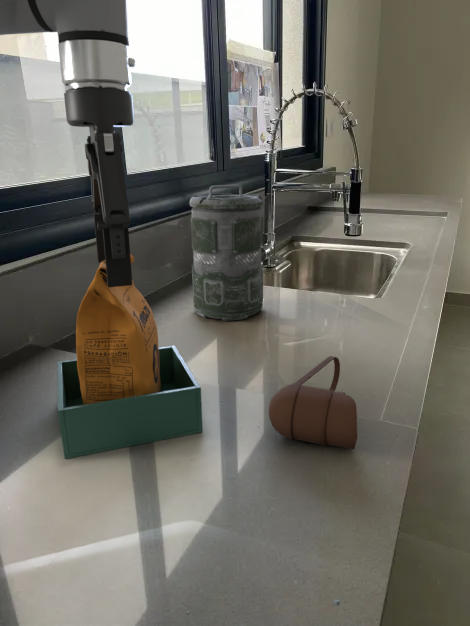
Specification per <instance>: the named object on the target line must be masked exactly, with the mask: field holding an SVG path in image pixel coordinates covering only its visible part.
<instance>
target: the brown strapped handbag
mask: <svg viewBox="0 0 470 626" xmlns="http://www.w3.org/2000/svg"><path fill="white" fill-rule="evenodd" d="M332 361H333V363H334V367H333V368H334V369H333V377H332V381H331V384H330V387H329V389H328V388H322V387H316V386H311V385H310V386H309V385H304V384H305V383H306V382H307V381H309V379H311V378H312V377H313V376H315V375H316V374H317V373H318V372H320V371H321V370H322V369H323V368H325V367H326V366H327V365H328V364H330V362H332ZM340 373H341V363H340V360H339V357H337V356H333V355H330V356H328V357H326V358H325V359H324V360H322V361H321V362H320V363H318V364H317V365H316V366H315V367H313V368H312V369H311V370H310V371H309V372H307V373H305V374H304V375H303V376H302V377H300V378H299V379H298V380H297V381H296V382H292V383H290V384H287V385H284V386H283V387H282V388H280V389H278V390H277V391H276V392H275V394H274V395H273V396H272V397H271V399H270V402H269V405H268V418H269V421H270V423H271V425H272V427H273V429H274V430H275V431H276V432H277V433H278V434H280V436H282V437H285V438H286V439H289V440H293V441H294V440H298V441H303V442H307V443H312V444H316V445H317V444H318V445H322V446H327V445H330V446H334V447H339V448H343V449H344V448H345V449H349V450H355V448H356V446H357V445H356V444H357V441H358V411H357V404H356V401H355V399H354V398H352V397H351V396H350V395H348V394H346V392H342V391H336V389H337V386H338V383H339V379H340Z"/></svg>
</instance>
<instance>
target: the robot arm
mask: <svg viewBox="0 0 470 626" xmlns="http://www.w3.org/2000/svg"><path fill="white" fill-rule="evenodd" d="M127 5H128V4H127V0H0V36H6V35H21V34H22V35H23V34H36V33H37V34H41V33H57V39H58V54H59V55H58V56H59V64H60V74H61V75H60V76H61V83H62V84H63V85H65V86H67V87H68V89H67V90H65V92H64V93H63V97H64V107H65V114H66V115H65V118H66V122H67V124H68V125H69V126H70V127H76V128H77V127H79V128H89V131H90V133H89V135H88V136H87V138H86V143H84V153H85V158H86V160H87V170H88V175H89V176H90V186H91V187H90V190H91V191H90V192H91V201H90V202H91V205H92V211H93V221H94V222H93V223H94V232H95V234H94V235H95V243H96V252H97V253H96V254H97V262H98V264H100V263H101V262H102V261H104V260H105V261H106V273H107V284H108V287H118V286H129V285H132V280H133V274H132V264H131V258H130V254H131V247H130V246H131V245H130V233H129V232H130V230H129V225H131V223H132V217H131V215H130V208H129V202H128V193H127V184H126V177H125V170H124V162H123V152H124V151H123V144H122V143H121V142H122V136H121V134H120V132H116V131H115V128H126V127H127V128H128V127H132V126H134V123H135V115H134V113H135V112H134V100H133V99H134V98H133V97H134V96H133V94H131V91H128V90H127V88H129V87H130V86H131V85H132V74H131V68H135V67H136V59H134V58H132V57H129V54H130V49H129V47H130V41H129V28H128V27H129V26H128V8H127V7H128V6H127Z"/></svg>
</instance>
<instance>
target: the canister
mask: <svg viewBox="0 0 470 626" xmlns="http://www.w3.org/2000/svg"><path fill="white" fill-rule="evenodd" d="M215 189H238V194H233V193H232V192H226V193H225V192H224V193H221V192H220V193H213V190H215ZM263 205H264V199H263V198H262V196H260V195H259V194H256V193H255V194H254V193H247V194H243V186H242V185H241V184H217V185H211V186H210V187H209V189H208V195H200V196H196V197H195V196H192V197H191V198H190V200H189V206H190V208H191V218H190V232H191V234H190V235H191V248H192V254H193V255H192V257H193V264H191V277H192V299H193V301H192V302H193V310H194V312H195V313H196V314H197V315H198V316H200V317H202V318H205V319H207V318H211V319H217V320H222V321H223V322H230V321H231V322H232V321H233V322H234V321H241V320H247V319H248V318H249V317H251V316H253V315H255V314H256V313H259V312H260V311H261V310H262V309H263V306H264V304H263V302H264V269H263V265H262V246H263V244H264V240H263V239H264V216H263V214H262V206H263Z"/></svg>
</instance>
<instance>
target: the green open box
mask: <svg viewBox="0 0 470 626" xmlns="http://www.w3.org/2000/svg"><path fill="white" fill-rule="evenodd" d="M158 349H159V364H160V366H159V369H160V380H161V389H160V392H158V393H152V394H146V395H140V396H134V397H127V398H121V399H115V400H109V401H103V402H97V403H91V404H85V405H83V400H82V394H81V388H80V380H79V375H78V369H77V358H74V359H68V360H59V361H57V362H56V366H57V367H56V368H57V369H56V370H57V374H56V375H57V415H58V422H59V430H60V436H61V442H62V450H63V456H64V457H63V458H64V459H65V460H67V459H72V458H78V457H82V456H87V455H92V454H97V453H102V452H108V451H112V450H117V449H123V448H129V447H134V446H138V445H143V444H148V443H154V442H158V441H164V440H168V439H173V438H179V437H183V436H189V435H195V434H199V433H203V431H204V430H203V407H202V406H203V405H202V404H203V403H202V387H201V385H200V384H199V382H198V380H197V379H196V378H195V375H194V374H193V373H192V371H191V369H190V367H189V366H188V365H187V363H186V361H185V360H184V358H183V357H182V355H181V353H180V352H179V350H178V349H177V347H176V346H175V345H169V346H162V347H158Z"/></svg>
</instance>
